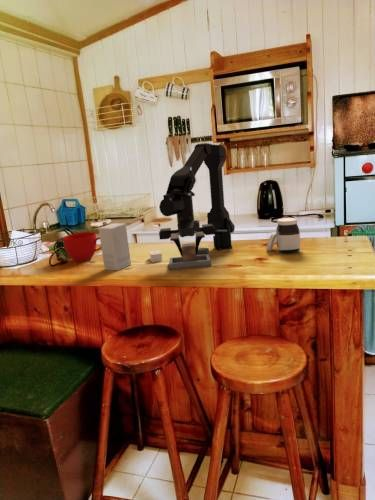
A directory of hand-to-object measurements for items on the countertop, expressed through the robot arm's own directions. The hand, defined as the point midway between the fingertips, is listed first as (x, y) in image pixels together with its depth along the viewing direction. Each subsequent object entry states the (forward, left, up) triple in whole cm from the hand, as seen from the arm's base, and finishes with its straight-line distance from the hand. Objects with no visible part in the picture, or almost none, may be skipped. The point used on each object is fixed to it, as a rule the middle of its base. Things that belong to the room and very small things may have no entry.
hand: (189, 255), depth 139 cm
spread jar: (-34, -6, -3) cm, 35 cm away
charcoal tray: (0, 0, -3) cm, 3 cm away
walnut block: (0, 0, -1) cm, 1 cm away
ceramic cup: (+41, -23, -3) cm, 47 cm away
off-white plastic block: (+13, -12, -3) cm, 18 cm away
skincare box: (+26, -6, -3) cm, 27 cm away
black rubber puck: (-5, -9, -3) cm, 11 cm away
